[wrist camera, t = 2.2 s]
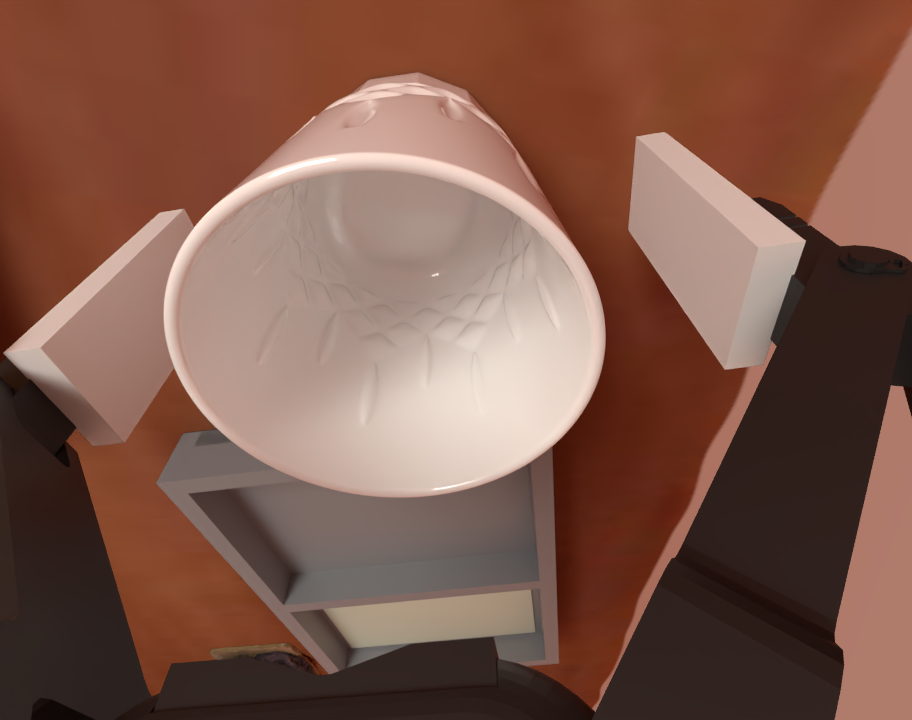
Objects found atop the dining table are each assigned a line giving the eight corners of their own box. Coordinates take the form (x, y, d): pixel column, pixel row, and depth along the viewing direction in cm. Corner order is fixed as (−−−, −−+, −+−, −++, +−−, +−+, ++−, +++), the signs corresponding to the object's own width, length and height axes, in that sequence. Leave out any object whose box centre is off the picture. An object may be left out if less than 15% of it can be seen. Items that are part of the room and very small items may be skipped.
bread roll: (205, 641, 42) (187, 690, 39) (299, 635, 42) (288, 684, 39) (251, 683, 49) (239, 727, 46) (332, 678, 48) (326, 722, 46)
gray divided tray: (341, 641, 41) (336, 681, 39) (183, 433, 24) (156, 483, 22) (552, 623, 40) (558, 663, 38) (540, 388, 23) (552, 436, 21)
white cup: (284, 250, 18) (169, 465, 10) (314, 4, 13) (147, 62, 6) (480, 304, 20) (506, 521, 12) (568, 102, 15) (701, 250, 7)
